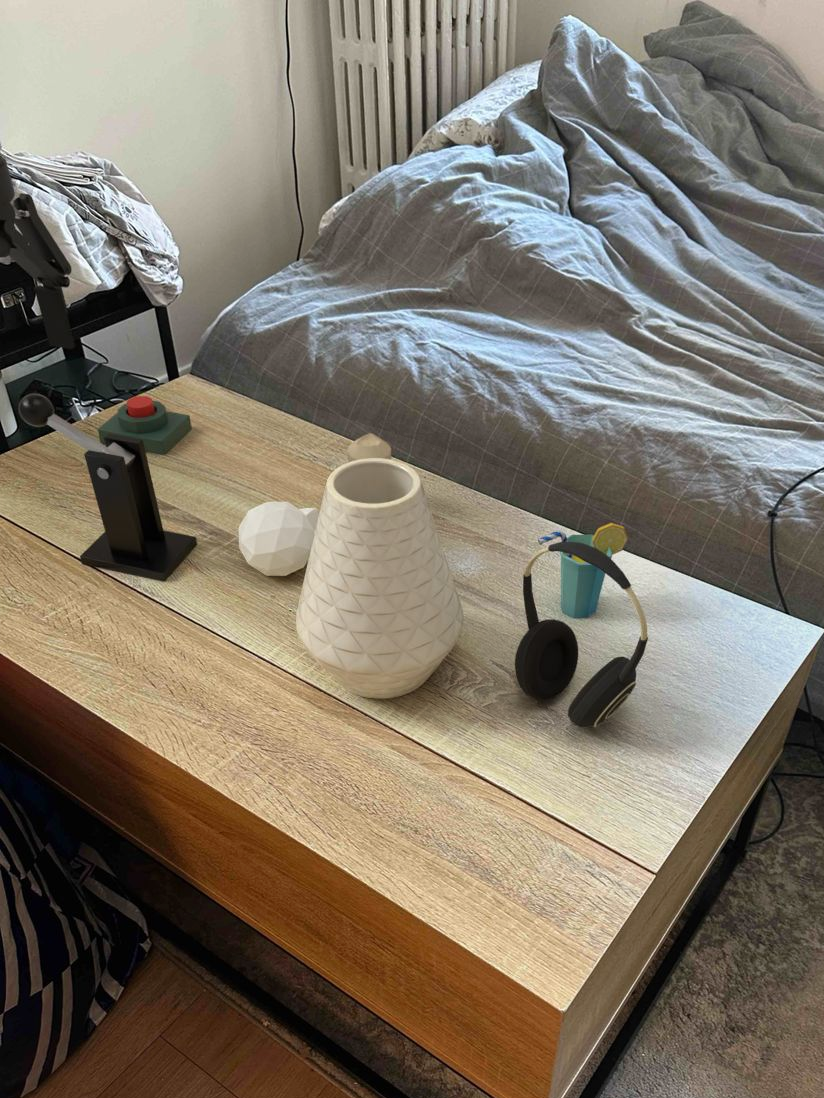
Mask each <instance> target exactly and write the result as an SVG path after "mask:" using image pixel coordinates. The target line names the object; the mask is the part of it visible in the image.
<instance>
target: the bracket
mask: <svg viewBox="0 0 824 1098" xmlns="http://www.w3.org/2000/svg"><path fill="white" fill-rule="evenodd" d="M104 440H105V444H104V445H105V446H106V447H109V446H110V445H111V444H112V443H113V442H114V443H116V444H118V445H119V446H121V447H122V448H124V449H125V450H127V451H129V452H130V453H132V454H133V455H135V459H134V462H133V465H132V468H131V470H130V471H129V472H127V468H126V463H125V459H124V457H122V456H117V455H112V454H106V453H101V452H96V451H90V450H87V451H86V452H85V453H83V457H84V460H85V463H86V467H87V471H88V474H89V478H90V482H91V484H92V488H93V489H92V490H93V492H94V496H95V499H96V503H97V507H98V511H99V515H100V518H101V521H102V526H103V529H104V531H103V533H102V534H101V535H100V536H98V538H97V539H95V541H93V543H91V544H90V545H89V547H88V548H87V549H85V550H84V551H83V552H82V553H81V554H80V555H79V559H80V562H81V565H83V566H89V567H93V568H98V569H103V570H108V571H113V572H118V573H123V574H127V575H132V576H137V577H142V578H146V579H152V580H155V581H161V582H166V581H167V580H168V579H169V578H170V576H171V575H172V574H174V572H175V571H176V570H177V568H178V567H180V565H181V564H182V563H183V562H184V560H185V559H187V557H188V556H189V555H190V554H191V552H192V551H193V550H194V549H195V548H196V547H197V545H198V542H197V537H196V536H194V535H190V534H189V535H188V534H185V533H178V532H173V531H168V530H164V527H163V522H162V518H161V514H160V510H159V509H160V508H159V505H158V501H157V496H156V492H155V487H154V483H153V478H152V474H151V469H150V465H149V460H148V455H147V452H146V451H145V447H144V443H143V440H142V439H137V438H131V437H126V436H120V435H115V434H109V433H108V434H107V435H106V436H105V437H104Z"/></svg>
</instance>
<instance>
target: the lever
mask: <svg viewBox="0 0 824 1098" xmlns="http://www.w3.org/2000/svg"><path fill="white" fill-rule="evenodd" d="M18 414H19V416H20V418H21V419H22V420H23V421H24V422H25V423H26V424H27V425H29V426H32V427H35V428H41V427H46V426H49V427H51V428H52V429H53V430H55V431H56V432H59V433H60V434H62V435H63V436H65V437H66V438H68V439H70V440H71V441H73V442H75V443H76V444H77V445H79V446H81V447H83V448H84V449H85V450H87V451H88V450H90V451H96V452H101V453H106V454H112V455H117V456H122V457H124V459H125V463H126V468H127V472H129V471H130V470H131V468H132V465H133V462H134V459H135V455H133V454H132V453H130V452H129V451H127V450H125V449H124V448H122V447H121V446H119V445H118V444H116V443H114V442H113V443H112V444H111V445H110V446H109V447H106V444H103V443H101V442H100V441H99V440H97V439H96V438H94V437H92V436H91V435H89V434H87V433H86V432H84V431H82V429H80V428H78V427H77V426H75V425H73V424H72V423H70V422H68V421H67V420H65V419H63V418H62V417H61V416H58V415H57V414H55V408H54V405H53V403H52V401H51V400H50V399H49V398H48V397H46V396H45V395H42V394H40V393H29V394H27V395H25V396H24V397H22V398H21V400H20V401H19V404H18Z"/></svg>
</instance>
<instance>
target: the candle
mask: <svg viewBox="0 0 824 1098" xmlns="http://www.w3.org/2000/svg"><path fill="white" fill-rule="evenodd" d="M346 449H347V450H346V451H347V452H346V454H347V463H348V462H351V461H355V460H359V459H367V458H383V459H390V460H392V448H391V445H390V444H388V443H387V442H386V441H385V440H383V439H381V438H380V437H378V436H377V435H375V434H374V433H370V432H369V433H366V434H364V435H362V436H361V437H359V438H357V439H355V440H353V441H352V442H351V443H350V444H349V445H348V446H347V448H346Z"/></svg>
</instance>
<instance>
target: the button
mask: <svg viewBox="0 0 824 1098" xmlns="http://www.w3.org/2000/svg"><path fill="white" fill-rule="evenodd" d="M153 401H154V400H153V398H152V397H150V396H147V395H137V396H133V397H131V398H129V399H128V400H126V402H125V404H126V405H127V409H128V413H129V416H130V417H135V418H143V417H148V416H151V415H153V414H154V413H155V408H154V403H153Z"/></svg>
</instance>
